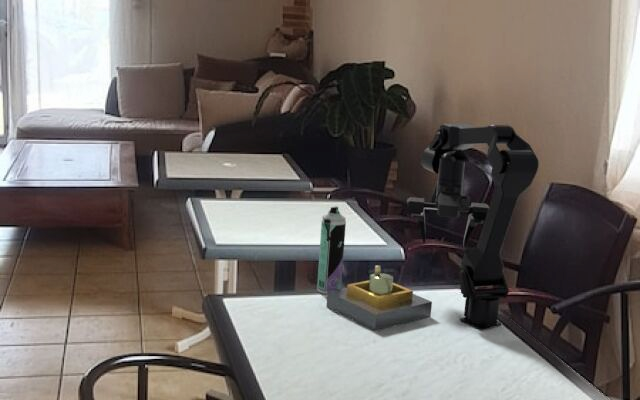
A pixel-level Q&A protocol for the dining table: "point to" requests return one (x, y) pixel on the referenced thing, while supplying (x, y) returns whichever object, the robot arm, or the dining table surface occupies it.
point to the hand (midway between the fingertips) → (444, 244)
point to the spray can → (331, 251)
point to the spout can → (380, 283)
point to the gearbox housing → (378, 305)
